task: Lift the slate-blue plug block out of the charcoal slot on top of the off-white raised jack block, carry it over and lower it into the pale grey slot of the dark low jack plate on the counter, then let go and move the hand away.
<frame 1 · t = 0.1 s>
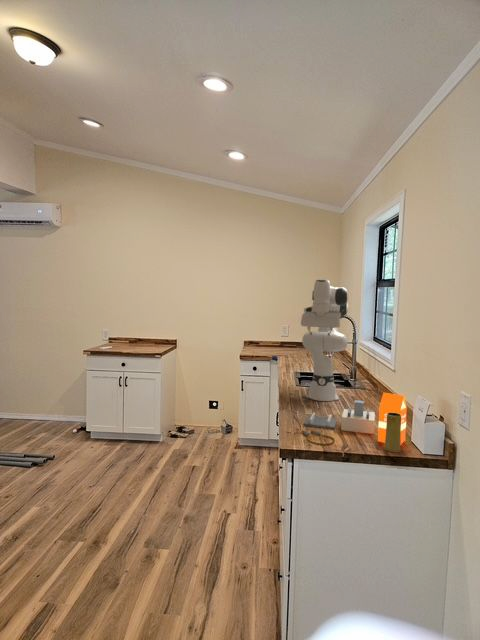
hand: (319, 335, 220), 39 cm above the worktop, tool pointing down, fingers open, 8 cm apart
plug: (358, 414, 191), point 6 cm above the worktop, touching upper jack
orange juice: (391, 441, 174), on the worktop
coiled cable: (318, 440, 176), on the worktop
vase: (392, 450, 165), on the worktop
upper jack: (358, 427, 192), on the worktop
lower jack: (320, 423, 197), on the worktop
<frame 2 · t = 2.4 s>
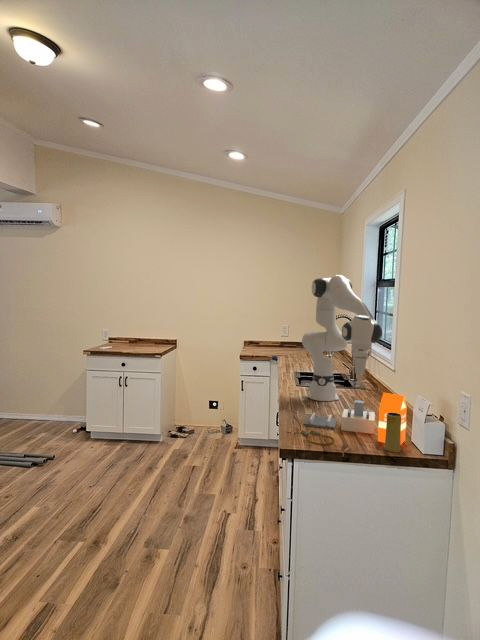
hand: (360, 381, 190), 21 cm above the worktop, tool pointing down, fingers open, 8 cm apart
nothing on the worktop moved.
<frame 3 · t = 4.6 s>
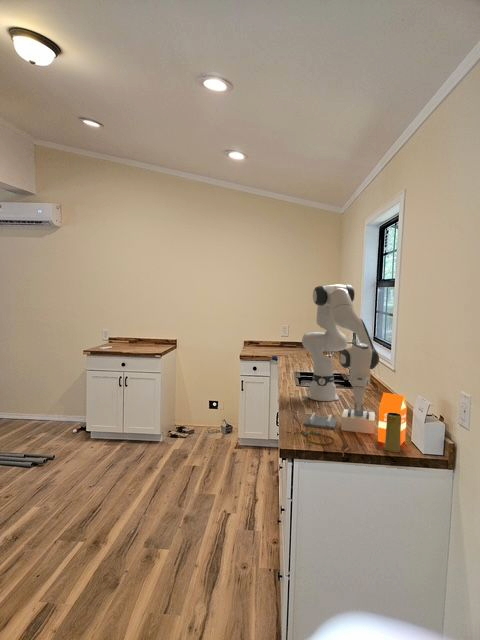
hand: (358, 408, 191), 9 cm above the worktop, tool pointing down, fingers closed on plug, 4 cm apart
plug: (358, 414, 191), point 6 cm above the worktop, touching gripper, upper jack
everything else where it was.
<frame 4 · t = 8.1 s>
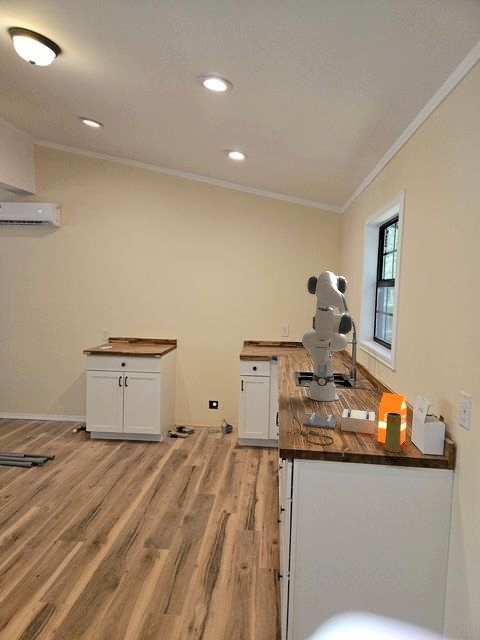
hand: (322, 370, 195), 25 cm above the worktop, tool pointing down, fingers closed on plug, 4 cm apart
plug: (322, 376, 196), point 22 cm above the worktop, touching gripper
everything else where it was.
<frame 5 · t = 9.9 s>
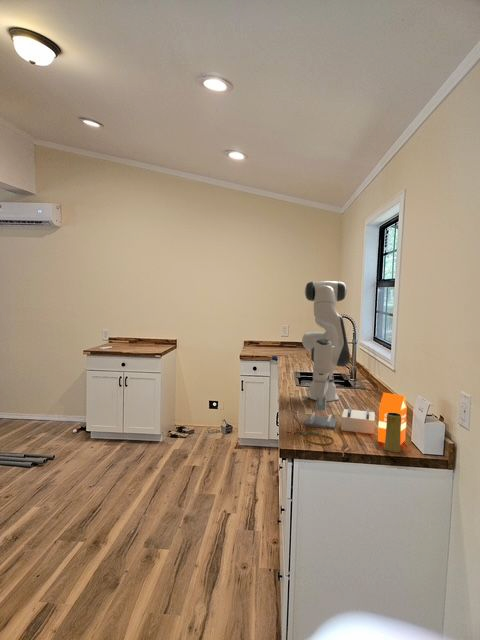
hand: (321, 403, 196), 9 cm above the worktop, tool pointing down, fingers closed on plug, 4 cm apart
plug: (321, 409, 197), point 7 cm above the worktop, touching gripper
everything else where it was.
when the fingers open (5 cm above the worktop, at t = 11.5 s): plug drops 1 cm, resting on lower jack.
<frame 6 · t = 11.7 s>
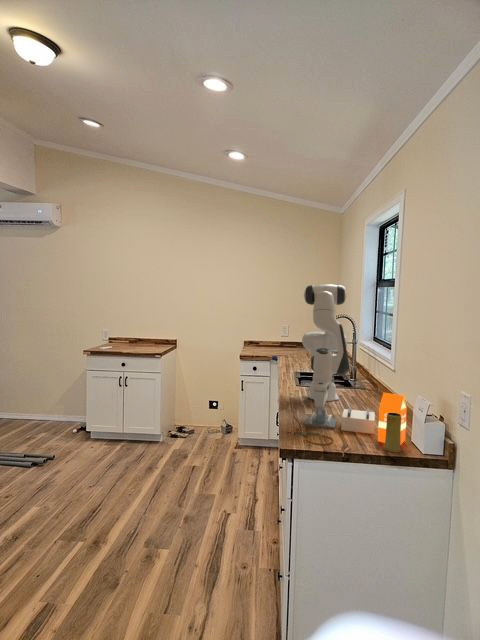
hand: (321, 412, 197), 5 cm above the worktop, tool pointing down, fingers open, 6 cm apart
plug: (320, 420, 197), point 1 cm above the worktop, touching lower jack
everything else where it was.
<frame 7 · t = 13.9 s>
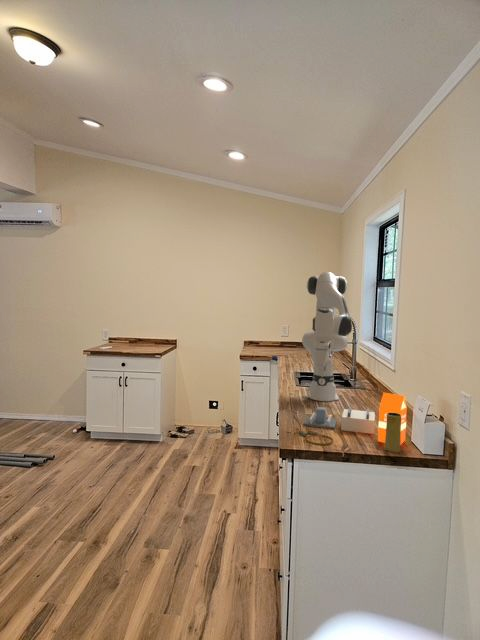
hand: (322, 372, 196), 24 cm above the worktop, tool pointing down, fingers open, 8 cm apart
nothing on the worktop moved.
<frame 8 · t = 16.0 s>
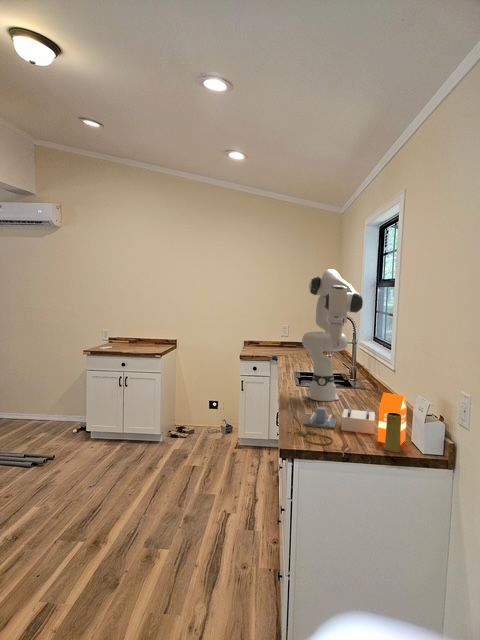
hand: (336, 347, 203), 35 cm above the worktop, tool pointing down, fingers open, 8 cm apart
at the end: plug 0.1 cm off-centre on the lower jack, point 1.0 cm above the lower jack's base; plug tilted 0°; the gripper is holding nothing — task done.
